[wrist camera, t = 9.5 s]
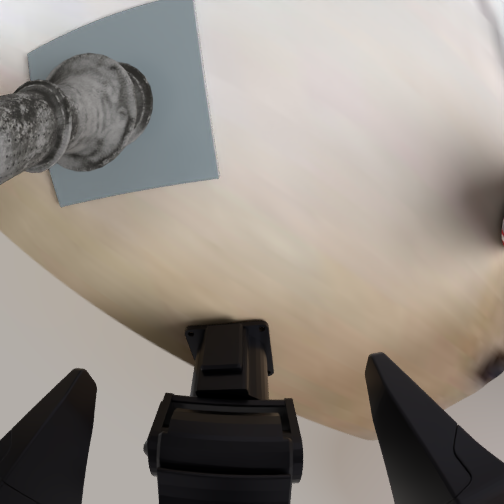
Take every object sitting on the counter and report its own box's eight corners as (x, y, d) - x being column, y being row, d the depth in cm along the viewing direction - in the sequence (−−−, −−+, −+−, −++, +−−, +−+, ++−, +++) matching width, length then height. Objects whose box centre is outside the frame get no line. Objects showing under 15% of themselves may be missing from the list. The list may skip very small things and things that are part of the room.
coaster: (219, 175, 18) (219, 178, 17) (64, 203, 18) (60, 207, 18) (193, -5, 12) (191, -7, 12) (32, 53, 13) (27, 53, 12)
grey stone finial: (173, 131, 16) (49, 226, 5) (88, 169, 17) (-50, 284, 6) (139, 39, 13) (-23, 1, 3) (56, 86, 14) (-110, 131, 3)
